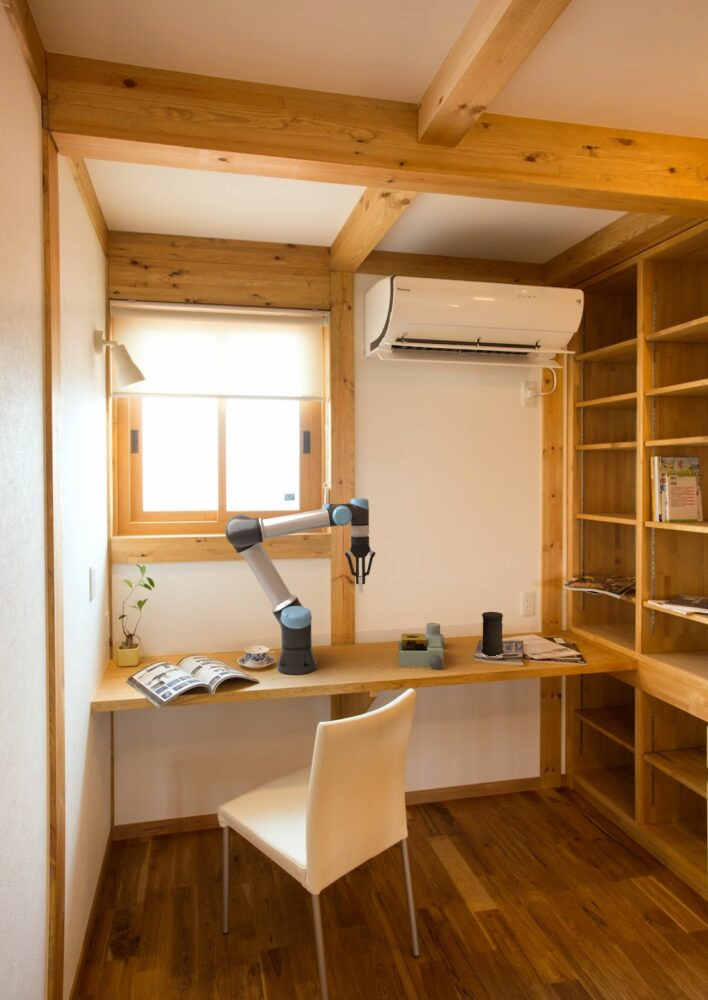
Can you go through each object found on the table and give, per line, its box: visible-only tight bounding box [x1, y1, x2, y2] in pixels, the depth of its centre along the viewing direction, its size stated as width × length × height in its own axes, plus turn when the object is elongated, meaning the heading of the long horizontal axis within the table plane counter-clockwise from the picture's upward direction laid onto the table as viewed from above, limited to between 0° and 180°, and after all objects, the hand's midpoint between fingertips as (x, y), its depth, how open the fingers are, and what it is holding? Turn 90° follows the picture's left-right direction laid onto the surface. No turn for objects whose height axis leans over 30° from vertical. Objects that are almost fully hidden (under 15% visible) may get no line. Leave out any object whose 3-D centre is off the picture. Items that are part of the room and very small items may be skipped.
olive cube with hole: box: [401, 632, 426, 651], centre depth 262 cm, size 10×10×10 cm
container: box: [481, 611, 505, 656], centre depth 265 cm, size 9×9×18 cm
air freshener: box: [424, 622, 446, 647], centre depth 281 cm, size 11×8×10 cm
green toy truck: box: [398, 638, 444, 670], centre depth 261 cm, size 17×22×8 cm
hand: (360, 591), depth 270 cm, fingers closed
